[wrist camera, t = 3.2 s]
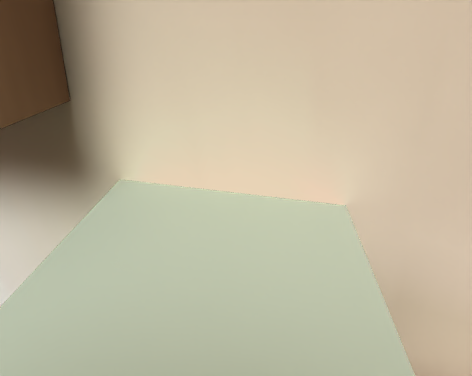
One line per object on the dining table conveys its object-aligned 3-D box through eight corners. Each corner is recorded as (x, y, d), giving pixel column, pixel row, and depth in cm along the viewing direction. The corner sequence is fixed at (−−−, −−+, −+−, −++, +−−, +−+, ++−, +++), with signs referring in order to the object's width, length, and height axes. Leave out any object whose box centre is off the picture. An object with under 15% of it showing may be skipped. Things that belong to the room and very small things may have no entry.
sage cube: (345, 204, 8) (479, 533, 3) (303, 350, 11) (334, 648, 6) (120, 178, 9) (-122, 436, 3) (136, 326, 11) (20, 593, 6)
